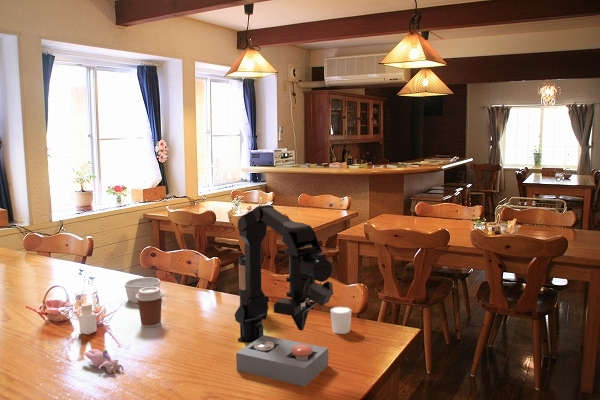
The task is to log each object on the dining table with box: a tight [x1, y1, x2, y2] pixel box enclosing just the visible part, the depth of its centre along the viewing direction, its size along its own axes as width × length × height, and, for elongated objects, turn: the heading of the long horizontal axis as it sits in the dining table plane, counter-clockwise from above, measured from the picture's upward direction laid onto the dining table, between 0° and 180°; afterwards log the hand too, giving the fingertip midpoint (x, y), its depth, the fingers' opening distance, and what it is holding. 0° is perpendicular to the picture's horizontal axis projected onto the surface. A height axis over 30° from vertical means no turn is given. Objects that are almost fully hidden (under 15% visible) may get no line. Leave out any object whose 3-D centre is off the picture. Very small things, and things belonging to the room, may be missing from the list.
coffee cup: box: [135, 287, 164, 328], centre depth 185 cm, size 9×9×12 cm
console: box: [235, 334, 329, 388], centre depth 150 cm, size 21×14×5 cm, turn 61°
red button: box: [291, 345, 312, 361], centre depth 147 cm, size 6×6×6 cm
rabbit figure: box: [83, 348, 125, 376], centre depth 152 cm, size 6×6×15 cm
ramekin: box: [124, 276, 161, 304], centre depth 212 cm, size 13×13×7 cm
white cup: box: [329, 306, 352, 335], centre depth 176 cm, size 7×7×7 cm
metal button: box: [254, 341, 274, 353], centre depth 153 cm, size 6×6×6 cm
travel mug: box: [238, 254, 245, 299], centre depth 196 cm, size 8×8×20 cm
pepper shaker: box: [78, 302, 98, 336], centre depth 178 cm, size 4×4×10 cm
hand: (301, 329), depth 146 cm, fingers closed
